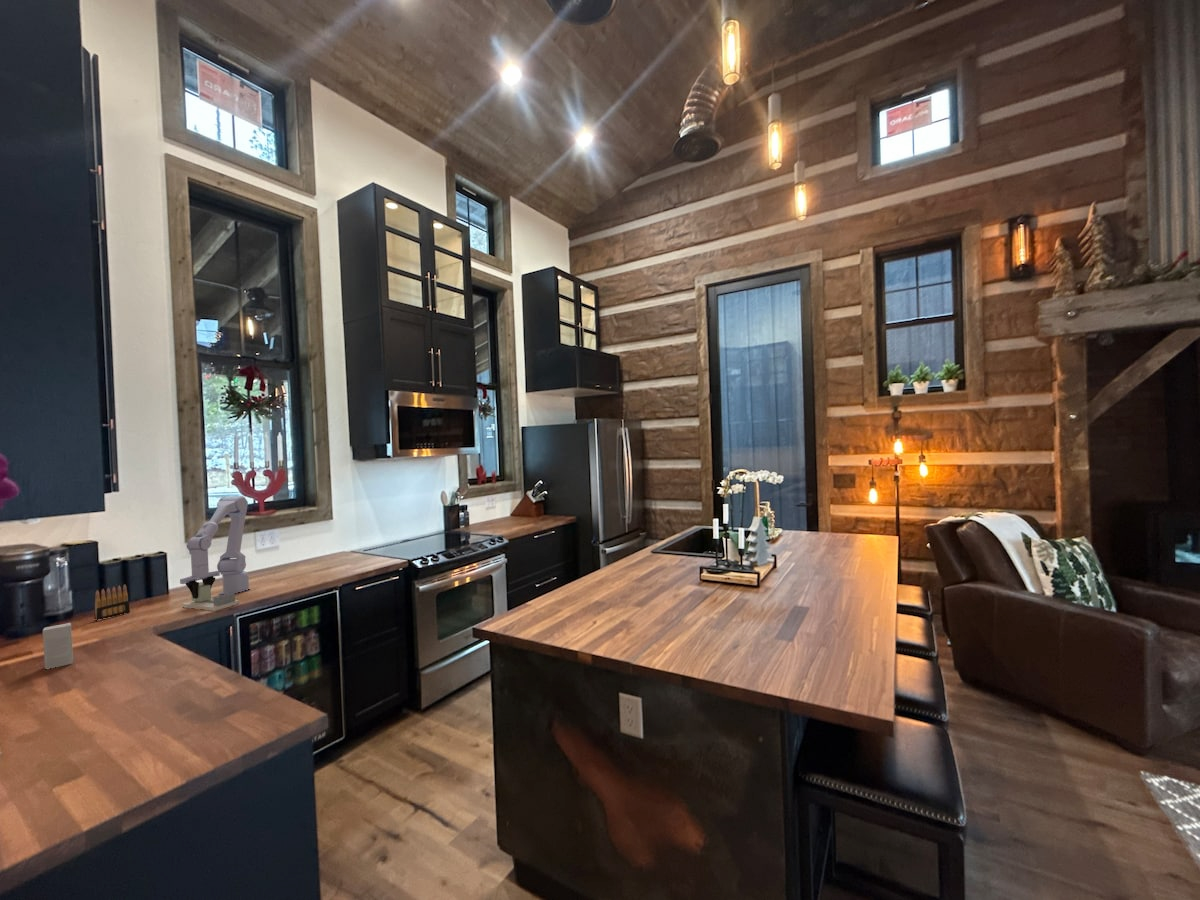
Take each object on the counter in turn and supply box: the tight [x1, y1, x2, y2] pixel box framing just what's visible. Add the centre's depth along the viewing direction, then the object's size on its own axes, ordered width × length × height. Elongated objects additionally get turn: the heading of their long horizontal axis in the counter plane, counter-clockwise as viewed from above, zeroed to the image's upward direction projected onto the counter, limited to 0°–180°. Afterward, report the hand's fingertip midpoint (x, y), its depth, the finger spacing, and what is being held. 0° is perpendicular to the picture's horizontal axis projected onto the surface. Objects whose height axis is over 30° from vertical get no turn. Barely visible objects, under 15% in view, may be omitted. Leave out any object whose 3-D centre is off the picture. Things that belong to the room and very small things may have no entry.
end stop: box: [212, 593, 236, 606], centre depth 215 cm, size 7×2×4 cm, turn 159°
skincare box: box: [42, 622, 74, 670], centre depth 159 cm, size 6×4×12 cm
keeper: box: [191, 583, 212, 602], centre depth 220 cm, size 4×6×6 cm, turn 69°
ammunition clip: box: [93, 583, 131, 620], centre depth 207 cm, size 11×2×12 cm, turn 159°
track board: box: [182, 597, 240, 612], centre depth 218 cm, size 10×20×2 cm, turn 69°
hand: (201, 596), depth 220 cm, fingers closed on keeper, 4 cm apart
